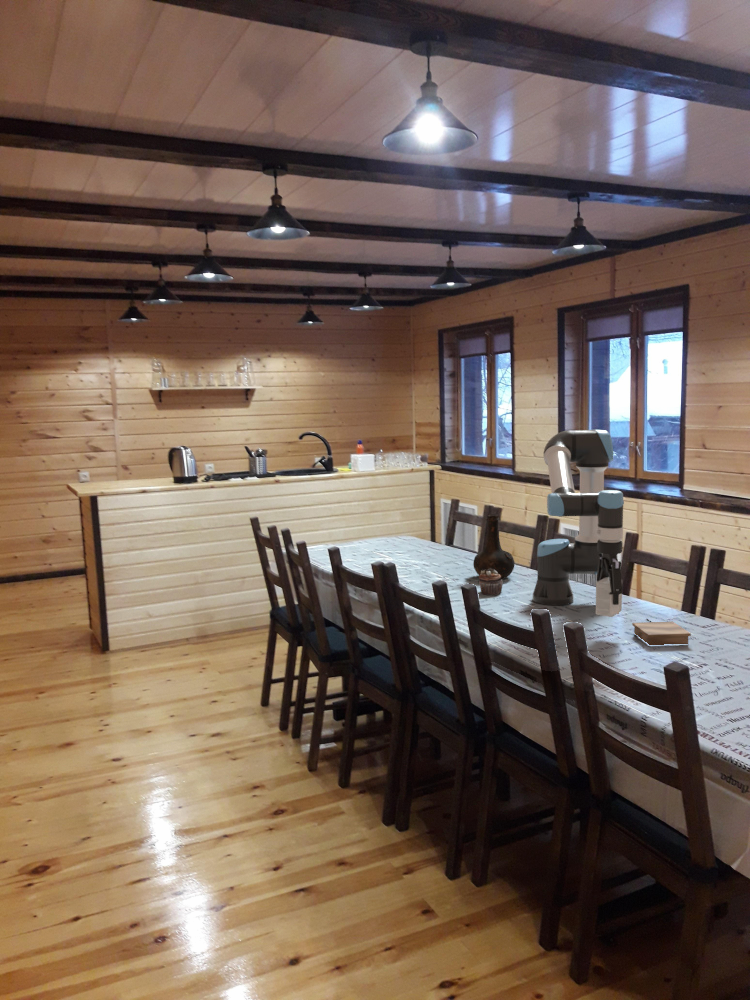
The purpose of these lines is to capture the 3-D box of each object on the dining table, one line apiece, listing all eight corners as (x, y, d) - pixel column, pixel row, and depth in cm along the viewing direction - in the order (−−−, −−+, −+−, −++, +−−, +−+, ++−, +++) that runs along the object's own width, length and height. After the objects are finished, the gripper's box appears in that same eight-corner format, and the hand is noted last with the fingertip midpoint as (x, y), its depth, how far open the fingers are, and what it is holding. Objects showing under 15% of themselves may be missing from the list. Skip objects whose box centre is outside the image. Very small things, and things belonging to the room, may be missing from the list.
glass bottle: (502, 584, 309) (502, 518, 306) (465, 579, 320) (465, 515, 317) (521, 576, 323) (521, 513, 320) (485, 572, 334) (485, 511, 331)
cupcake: (492, 597, 289) (492, 572, 288) (474, 592, 296) (473, 568, 295) (508, 592, 295) (508, 568, 294) (490, 588, 303) (489, 564, 301)
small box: (605, 608, 238) (605, 576, 237) (622, 611, 235) (622, 579, 233) (595, 614, 232) (595, 582, 231) (612, 617, 229) (612, 584, 227)
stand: (632, 634, 236) (632, 622, 236) (672, 633, 237) (672, 621, 236) (648, 647, 224) (648, 634, 223) (690, 646, 224) (690, 633, 223)
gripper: (587, 533, 241) (586, 600, 244) (610, 547, 219) (608, 620, 222) (609, 532, 241) (608, 599, 244) (635, 546, 219) (633, 619, 222)
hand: (608, 609), depth 233 cm, fingers closed on small box, 9 cm apart
